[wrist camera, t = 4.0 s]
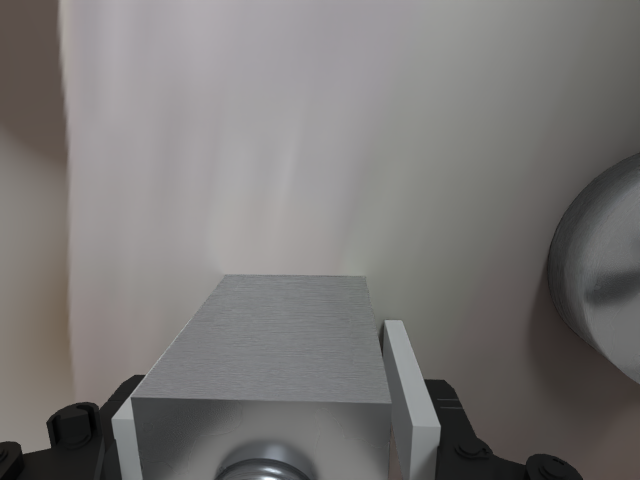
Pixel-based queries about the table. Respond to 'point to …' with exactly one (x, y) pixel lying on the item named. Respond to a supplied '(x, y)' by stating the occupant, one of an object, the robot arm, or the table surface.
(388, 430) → the grey block with knob
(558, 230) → the ratchet
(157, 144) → the table surface
